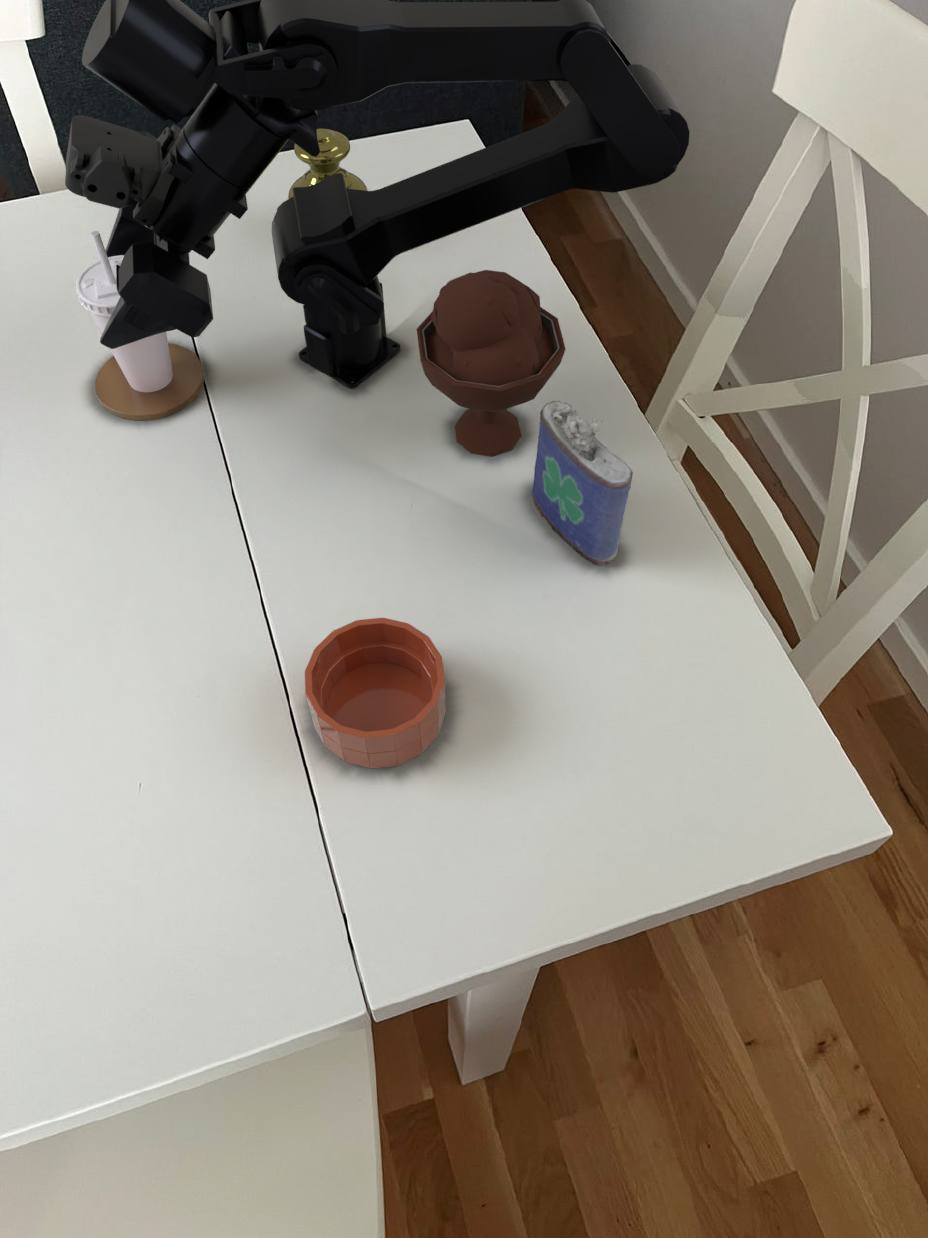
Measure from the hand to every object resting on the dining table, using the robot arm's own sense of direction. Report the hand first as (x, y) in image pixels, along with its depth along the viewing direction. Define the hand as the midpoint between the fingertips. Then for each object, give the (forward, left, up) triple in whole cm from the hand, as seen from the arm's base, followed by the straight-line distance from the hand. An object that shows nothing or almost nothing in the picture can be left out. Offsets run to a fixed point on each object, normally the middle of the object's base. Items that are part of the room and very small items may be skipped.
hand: (105, 307), depth 77 cm
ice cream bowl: (-14, +27, -8) cm, 31 cm away
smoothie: (-1, +1, -8) cm, 8 cm away
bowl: (+11, +37, -8) cm, 39 cm away
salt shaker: (-26, -1, -8) cm, 27 cm away
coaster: (-1, +1, -8) cm, 8 cm away
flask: (-10, +38, -8) cm, 40 cm away
